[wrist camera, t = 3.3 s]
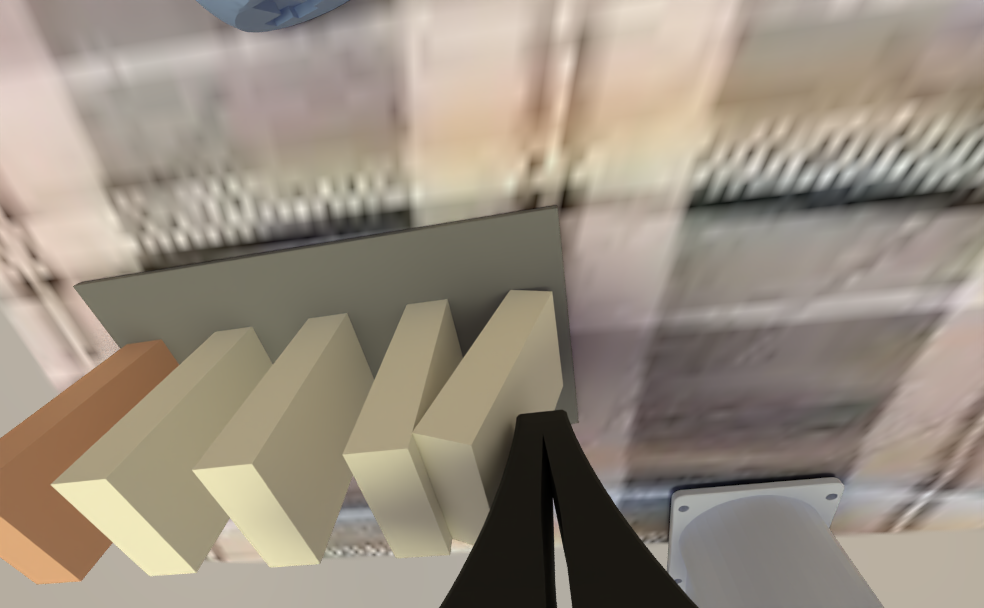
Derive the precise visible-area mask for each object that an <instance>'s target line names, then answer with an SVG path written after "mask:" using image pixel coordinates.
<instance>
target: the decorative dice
mask: <svg viewBox="0 0 984 608" xmlns="http://www.w3.org/2000/svg"><path fill="white" fill-rule="evenodd" d="M196 1H197V2H198V3H199V4H200V5H202V6H203V7H204V8H205V9H206V10H208V11H209V12H210V13H212V14H213V15H214V16H216V17H217V18H219V19H220V20H222V21H223V22H225V23H227V24H229V25H231V26H233V27H235V28H237V29H240V30H242V31H246V32H266V31H272V30H277V29H281V28H285V27H289V26H292V25H296V24H299V23H302V22H304V21H307V20H310V19H312V18H315V17H317V16H320V15H322V14H324V13H326V12H328V11H331V10H333V9H335V8H337V7H338V6H340V5H342V4H344V3H346V2H347V1H349V0H196Z"/></svg>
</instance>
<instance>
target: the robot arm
mask: <svg viewBox="0 0 984 608" xmlns="http://www.w3.org/2000/svg"><path fill="white" fill-rule="evenodd" d="M844 487H845V486H844V485H843V484H842V482H841V481H840V480H839V479H838V478H835V477H827V478H816V479H804V480H792V481H780V482H769V483H757V484H745V485H733V486H722V487H710V488H698V489H686V490H679V491H676V492H675V493H674V494H673V495H672V499H671V515H670V531H669V548H668V564H667V571H666V570H665V569H664V568H663V566H661V564H660V563H659V562H658V561H657V560H656V558H655V557H654V556H653V555H652V553H651V552H650V551H649V550H648V548H647V547H646V546H645V544H644V543H643V542H642V541H641V539H640V538H639V537H638V535H637V534H636V533H635V531H634V530H633V529H632V527H631V526H630V525H629V523H628V522H627V521H626V519H625V518H624V516H623V515H622V514H621V512H620V511H619V509H618V508H617V506H616V505H615V504H614V502H613V500H612V499H611V497H610V496H609V494H608V493H607V491H606V490H605V488H604V487H603V485H602V483H601V482H600V480H599V479H598V477H597V475H596V474H595V472H594V470H593V468H592V467H591V465H590V463H589V461H588V460H587V458H586V456H585V454H584V452H583V450H582V448H581V446H580V444H579V442H578V440H577V438H576V436H575V434H574V431H573V429H572V426H571V424H570V421H569V418H568V415H567V412H566V411H564V410H563V409H562V410H553V411H543V412H534V413H525V414H519V415H518V416H517V417H516V425H515V431H514V436H513V441H512V445H511V449H510V453H509V456H508V460H507V463H506V466H505V469H504V472H503V476H502V479H501V482H500V485H499V487H498V490H497V492H496V495H495V498H494V500H493V503H492V506H491V508H490V511H489V513H488V515H487V518H486V520H485V522H484V525H483V527H482V529H481V531H480V534H479V536H478V538H477V540H476V542H475V544H474V546H473V548H472V550H471V552H470V554H469V556H468V558H467V560H466V562H465V564H464V566H463V568H462V569H461V571H460V574H459V575H458V577H457V579H456V581H455V582H454V584H453V586H452V588H451V589H450V591H449V593H448V594H447V596H446V598H445V599H444V601H443V602H442V604H441V606H440V607H439V608H557V602H556V588H555V562H554V523H553V500H554V505H555V510H556V514H557V519H558V524H559V529H560V534H561V539H562V543H563V548H564V553H565V558H566V562H567V567H568V575H569V584H570V592H571V600H572V608H884V607H883V605H882V604H881V602H880V601H879V599H878V598H877V597H876V595H875V594H874V592H873V591H872V590H871V588H870V587H869V585H868V584H867V582H866V581H865V579H864V578H863V577H862V575H861V574H860V572H859V571H858V569H857V568H856V566H855V565H854V564H853V562H852V561H851V559H850V558H849V557H848V555H847V554H846V552H845V551H844V549H843V548H842V546H841V545H840V544H839V542H838V541H837V539H836V538H835V536H834V535H833V534H832V532H831V531H830V529H829V528H830V525H831V522H832V520H833V517H834V515H835V512H836V509H837V507H838V504H839V502H840V499H841V496H842V494H843V491H844Z"/></svg>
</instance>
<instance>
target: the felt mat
mask: <svg viewBox="0 0 984 608" xmlns="http://www.w3.org/2000/svg"><path fill="white" fill-rule="evenodd" d="M73 287H74V288H75V290H76V291H77V292H78V293H79V295H80V296H81V297H82V299H83V300H84V301H85V303H86V304H87V305H88V307H89V308H90V309H91V311H92V312H93V313H94V314H95V316H96V317H97V318H98V320H99V321H100V322H101V324H102V325H103V326H104V328H105V329H106V330H107V332H108V333H109V334H110V335H111V337H112V338H113V339H114V341H115V342H116V343H117V345H118V346H119V347H120V349H121V348H122V347H124V346H125V345H126V344H132V343H139V342H147V341H154V340H161V339H162V341H163V342H164V344H165V345H166V346H167V348H168V349H169V351H170V352H171V354H172V355H173V357H174V358H175V359H176V361H177V362H178V364H179V365H180V364H181V363H182V362H183V361H184V360H185V359H186V358H187V357H189V356H190V355H191V354H192V353H193V352H194V351H195V350H196V349H197V348H198V347H199V346H200V345H201V344H203V343H204V342H205V341H206V340H207V339H208V338H209V337H210V336H211V335H212V334H213V333H214V332H217V331H224V330H231V329H238V328H245V327H252V328H253V329H254V331H255V333H256V335H257V337H258V339H259V340H260V342H261V344H262V346H263V348H264V349H265V351H266V353H267V355H268V357H269V358H270V360H271V362H272V364H274V363H275V361H276V360H277V359H278V357H279V356H280V355H281V354H282V352H283V351H284V350H285V348H286V347H287V346H288V344H289V343H290V342H291V341H292V339H293V338H294V337H295V335H296V334H297V333H298V331H299V330H300V329H301V328H302V326H303V325H304V324H305V322H306V321H307V320H308V319H309V318H316V317H323V316H330V315H337V314H344V313H347V314H348V316H349V319H350V321H351V324H352V326H353V329H354V331H355V334H356V336H357V339H358V341H359V343H360V346H361V348H362V351H363V353H364V356H365V358H366V361H367V363H368V366H369V368H370V370H371V373H372V375H373V378H374V380H375V377H376V375H377V373H378V371H379V368H380V366H381V364H382V361H383V359H384V357H385V354H386V352H387V350H388V347H389V345H390V343H391V340H392V338H393V336H394V333H395V331H396V329H397V326H398V324H399V322H400V319H401V317H402V315H403V312H404V310H405V308H406V305H407V304H415V303H422V302H429V301H437V300H444V299H448V303H449V306H450V310H451V314H452V318H453V322H454V326H455V329H456V333H457V337H458V341H459V345H460V349H461V352H462V356H463V358H464V356H465V355H466V354H467V352H468V351H469V349H470V348H471V346H472V345H473V343H474V342H475V340H476V339H477V338H478V336H479V335H480V333H481V332H482V330H483V329H484V327H485V326H486V324H487V323H488V322H489V320H490V319H491V317H492V316H493V314H494V313H495V311H496V310H497V308H498V307H499V306H500V304H501V303H502V301H503V300H504V298H505V297H506V295H507V294H508V292H509V291H510V290H526V291H552V294H553V302H554V311H555V319H556V328H557V337H558V345H559V354H560V362H561V371H562V379H563V388H562V390H561V393H560V396H559V399H558V401H557V404H556V407H555V410H562V409H563V410H564V411H566V412H567V415H568V418H569V421H570V424H573V423H579V421H578V411H577V401H576V390H575V380H574V370H573V360H572V350H571V340H570V329H569V319H568V309H567V299H566V289H565V279H564V269H563V258H562V248H561V238H560V228H559V218H558V208H557V205H555V206H549V207H543V208H537V209H531V210H524V211H518V212H512V213H506V214H500V215H494V216H487V217H481V218H475V219H469V220H463V221H457V222H450V223H444V224H438V225H432V226H426V227H420V228H414V229H407V230H401V231H395V232H389V233H383V234H377V235H370V236H364V237H358V238H352V239H346V240H340V241H333V242H327V243H321V244H315V245H309V246H303V247H296V248H290V249H284V250H278V251H272V252H266V253H259V254H253V255H247V256H241V257H235V258H229V259H222V260H216V261H210V262H204V263H198V264H192V265H186V266H179V267H173V268H167V269H161V270H155V271H149V272H142V273H136V274H130V275H124V276H118V277H112V278H105V279H99V280H93V281H87V282H81V283H78V284H76V285H74V286H73Z"/></svg>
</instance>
